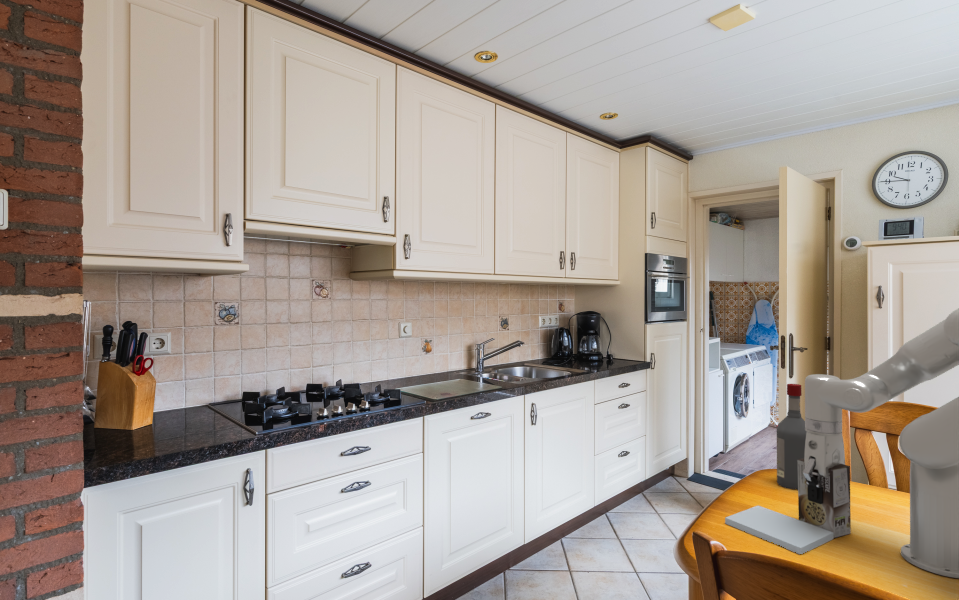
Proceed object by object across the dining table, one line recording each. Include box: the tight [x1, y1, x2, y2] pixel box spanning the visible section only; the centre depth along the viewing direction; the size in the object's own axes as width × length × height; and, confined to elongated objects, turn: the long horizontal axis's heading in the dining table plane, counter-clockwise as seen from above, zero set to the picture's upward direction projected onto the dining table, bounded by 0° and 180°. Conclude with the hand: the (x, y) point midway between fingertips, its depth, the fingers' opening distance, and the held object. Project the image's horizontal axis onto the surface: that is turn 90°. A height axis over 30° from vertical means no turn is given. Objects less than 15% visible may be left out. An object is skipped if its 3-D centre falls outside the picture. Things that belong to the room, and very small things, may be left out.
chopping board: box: [724, 505, 834, 555], centre depth 123 cm, size 18×14×2 cm
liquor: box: [776, 383, 807, 491], centre depth 152 cm, size 9×9×30 cm
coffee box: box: [797, 458, 852, 538], centre depth 124 cm, size 9×6×16 cm
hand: (823, 498), depth 124 cm, fingers closed on coffee box, 6 cm apart
